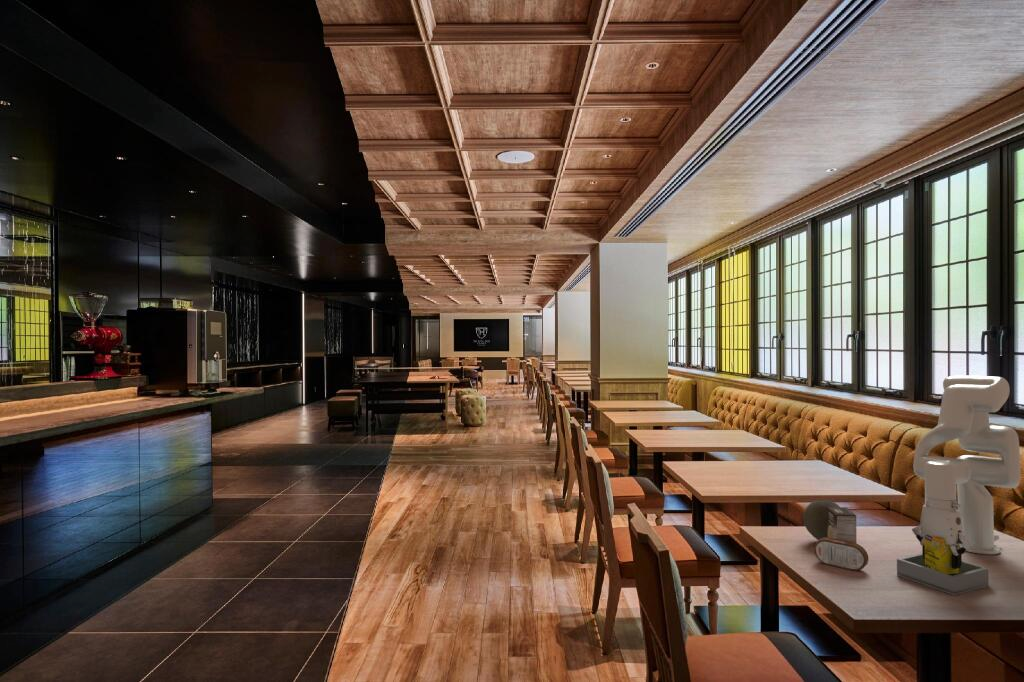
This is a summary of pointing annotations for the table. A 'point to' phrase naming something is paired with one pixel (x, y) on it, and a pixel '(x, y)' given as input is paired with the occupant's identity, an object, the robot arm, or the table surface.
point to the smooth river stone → (817, 518)
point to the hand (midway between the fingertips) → (941, 562)
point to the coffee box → (841, 524)
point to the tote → (943, 575)
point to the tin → (841, 553)
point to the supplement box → (939, 555)
